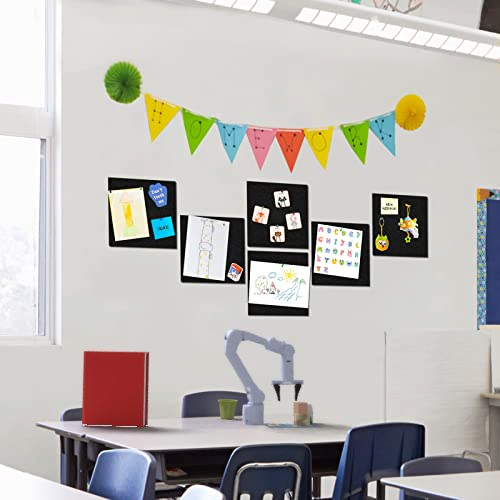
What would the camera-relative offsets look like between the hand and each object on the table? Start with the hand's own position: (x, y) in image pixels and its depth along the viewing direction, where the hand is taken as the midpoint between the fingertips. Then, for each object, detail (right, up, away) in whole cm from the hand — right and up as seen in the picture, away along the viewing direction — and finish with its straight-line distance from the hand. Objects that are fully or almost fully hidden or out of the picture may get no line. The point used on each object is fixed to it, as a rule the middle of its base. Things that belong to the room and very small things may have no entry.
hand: (287, 400), depth 454 cm
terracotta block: (+5, -4, -9) cm, 11 cm away
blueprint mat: (+2, -10, -12) cm, 16 cm away
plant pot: (-27, -12, +21) cm, 37 cm away
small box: (+8, -8, +5) cm, 12 cm away
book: (-75, -8, -19) cm, 78 cm away
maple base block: (+6, -9, -10) cm, 15 cm away
